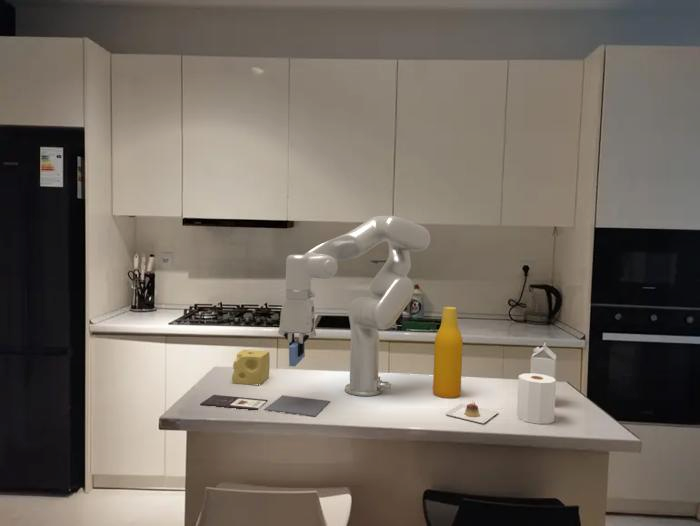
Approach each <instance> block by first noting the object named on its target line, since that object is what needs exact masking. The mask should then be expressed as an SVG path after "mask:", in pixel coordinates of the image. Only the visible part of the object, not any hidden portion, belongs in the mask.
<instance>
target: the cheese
mask: <svg viewBox="0 0 700 526" xmlns="http://www.w3.org/2000/svg"><path fill="white" fill-rule="evenodd" d="M270 360H271V356H270V351H269V350H268V351H267V350H253V349H242V350H241V351H239V352H237V354H236V359H235V360H234V361H233V365H232V368H233V372H232V375H231V381H232V384H234V383H238V384H237V385H250V384H258V385H257V386H260V385H259V384H261V383H262V384H263V383H264V382H265V381H267V380H268V379H269V377H270V365H271V364H270V363H271V361H270ZM262 384H261V385H262Z"/></svg>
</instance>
